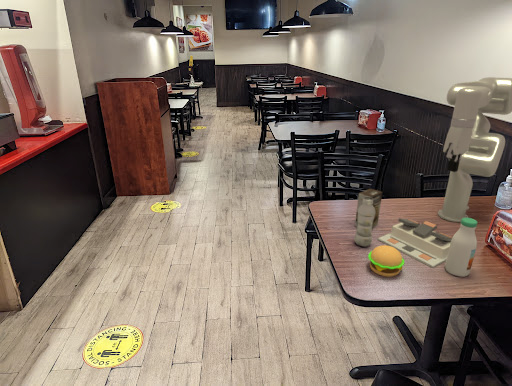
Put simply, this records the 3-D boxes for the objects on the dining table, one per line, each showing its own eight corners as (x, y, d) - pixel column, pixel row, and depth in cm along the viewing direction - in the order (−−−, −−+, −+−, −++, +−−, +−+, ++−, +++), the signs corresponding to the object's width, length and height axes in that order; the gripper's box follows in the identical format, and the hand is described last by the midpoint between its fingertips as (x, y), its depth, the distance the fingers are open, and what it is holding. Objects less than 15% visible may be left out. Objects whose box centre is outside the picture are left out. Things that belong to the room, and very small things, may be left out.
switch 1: (408, 221, 146) (409, 219, 146) (419, 226, 142) (420, 223, 142) (397, 221, 141) (399, 217, 141) (408, 225, 137) (410, 222, 137)
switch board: (403, 229, 151) (405, 218, 149) (458, 253, 132) (461, 241, 130) (377, 239, 142) (379, 228, 140) (432, 268, 123) (435, 255, 121)
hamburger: (361, 260, 128) (364, 240, 125) (393, 259, 129) (396, 239, 126) (374, 280, 117) (377, 258, 114) (408, 278, 118) (412, 257, 114)
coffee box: (366, 231, 149) (371, 197, 143) (354, 226, 153) (358, 192, 147) (378, 225, 154) (383, 191, 148) (365, 220, 159) (369, 187, 153)
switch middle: (425, 223, 140) (425, 220, 139) (436, 228, 136) (437, 225, 135) (412, 232, 137) (412, 230, 136) (424, 237, 133) (424, 235, 132)
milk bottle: (458, 279, 117) (472, 227, 110) (439, 267, 124) (451, 217, 116) (474, 274, 120) (488, 222, 112) (454, 262, 126) (467, 213, 119)
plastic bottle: (372, 249, 135) (378, 202, 128) (354, 247, 136) (359, 201, 129) (370, 241, 141) (376, 196, 134) (353, 239, 142) (358, 194, 135)
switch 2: (439, 235, 135) (441, 232, 135) (452, 241, 131) (453, 237, 131) (430, 234, 130) (431, 231, 130) (442, 240, 127) (444, 236, 126)
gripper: (463, 119, 133) (453, 165, 140) (441, 123, 126) (431, 171, 133) (483, 122, 127) (472, 170, 134) (462, 127, 120) (451, 177, 127)
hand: (452, 170), depth 133 cm, fingers closed
